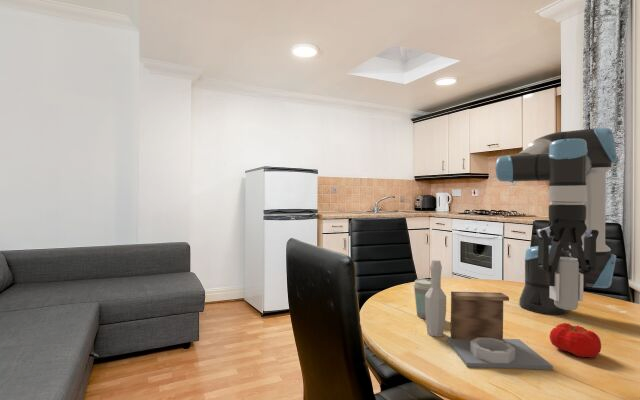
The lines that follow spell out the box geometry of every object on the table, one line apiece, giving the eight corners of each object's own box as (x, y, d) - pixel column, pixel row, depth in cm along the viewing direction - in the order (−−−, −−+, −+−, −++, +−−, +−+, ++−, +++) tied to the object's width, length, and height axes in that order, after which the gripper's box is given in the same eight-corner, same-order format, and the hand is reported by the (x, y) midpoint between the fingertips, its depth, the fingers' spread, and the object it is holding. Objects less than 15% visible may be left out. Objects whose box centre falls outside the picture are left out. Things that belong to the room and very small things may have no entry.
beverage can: (549, 304, 89) (549, 256, 89) (567, 304, 90) (568, 256, 89) (564, 310, 85) (564, 260, 84) (583, 310, 85) (583, 259, 85)
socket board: (519, 342, 101) (519, 330, 101) (552, 369, 85) (552, 355, 85) (446, 340, 102) (447, 328, 102) (466, 366, 86) (467, 352, 86)
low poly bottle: (421, 329, 111) (422, 258, 110) (442, 330, 110) (443, 258, 110) (427, 337, 104) (428, 262, 104) (449, 338, 104) (450, 262, 104)
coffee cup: (440, 321, 118) (440, 285, 118) (413, 319, 120) (414, 283, 120) (437, 313, 127) (437, 279, 126) (412, 311, 128) (412, 278, 128)
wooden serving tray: (500, 342, 101) (501, 292, 101) (508, 348, 97) (509, 297, 97) (450, 340, 102) (451, 291, 102) (455, 347, 98) (456, 295, 98)
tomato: (585, 364, 88) (586, 337, 88) (542, 347, 99) (542, 323, 98) (609, 357, 92) (609, 332, 92) (565, 341, 102) (565, 318, 102)
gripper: (594, 203, 90) (593, 295, 90) (521, 203, 91) (520, 294, 91) (617, 204, 82) (616, 304, 83) (537, 204, 83) (536, 303, 84)
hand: (566, 299), depth 87 cm, fingers closed on beverage can, 5 cm apart
